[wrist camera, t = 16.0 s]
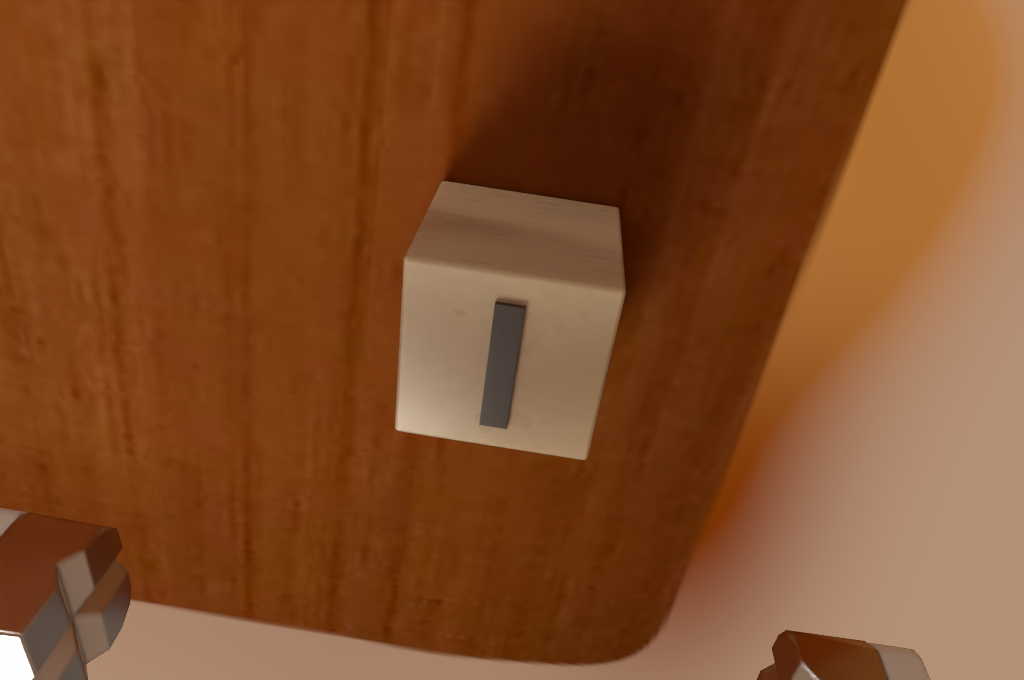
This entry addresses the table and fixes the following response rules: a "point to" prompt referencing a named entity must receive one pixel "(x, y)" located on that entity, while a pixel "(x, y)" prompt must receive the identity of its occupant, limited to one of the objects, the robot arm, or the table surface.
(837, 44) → the table surface
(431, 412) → the tile
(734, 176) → the table surface
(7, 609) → the robot arm
